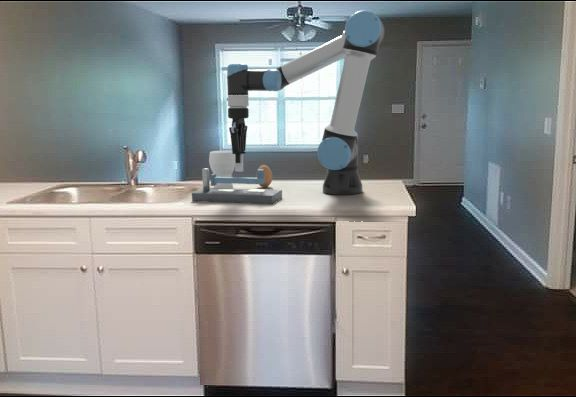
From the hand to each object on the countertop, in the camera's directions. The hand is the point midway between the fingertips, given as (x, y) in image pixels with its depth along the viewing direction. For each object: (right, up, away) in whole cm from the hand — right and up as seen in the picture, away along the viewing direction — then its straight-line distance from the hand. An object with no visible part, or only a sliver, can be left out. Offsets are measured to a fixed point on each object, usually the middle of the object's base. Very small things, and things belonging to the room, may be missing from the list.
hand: (239, 171), depth 210 cm
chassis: (0, -11, -8) cm, 13 cm away
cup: (-8, -7, +16) cm, 19 cm away
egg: (+9, -6, +19) cm, 21 cm away
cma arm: (0, -6, -8) cm, 10 cm away
